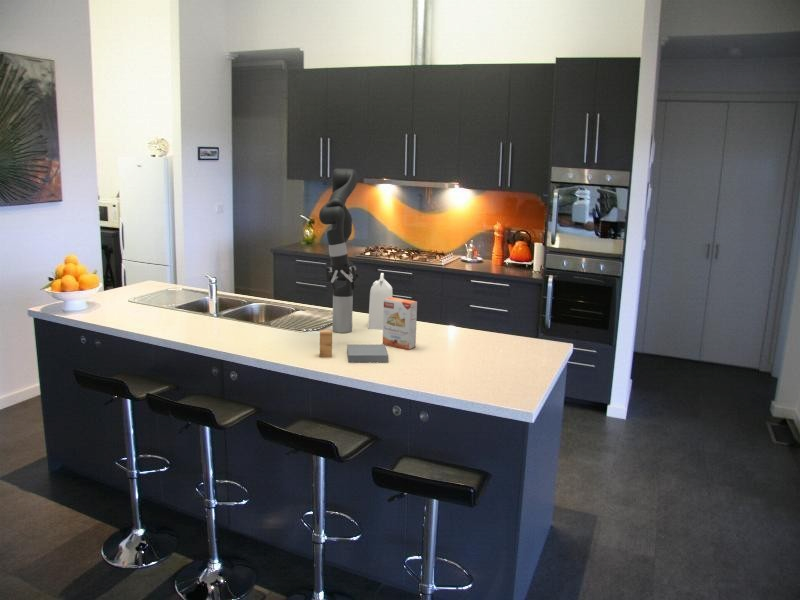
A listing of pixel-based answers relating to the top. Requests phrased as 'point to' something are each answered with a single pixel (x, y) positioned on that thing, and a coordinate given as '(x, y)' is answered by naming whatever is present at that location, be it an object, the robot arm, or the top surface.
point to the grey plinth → (367, 353)
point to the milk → (378, 302)
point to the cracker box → (399, 323)
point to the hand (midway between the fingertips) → (344, 290)
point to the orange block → (325, 343)
